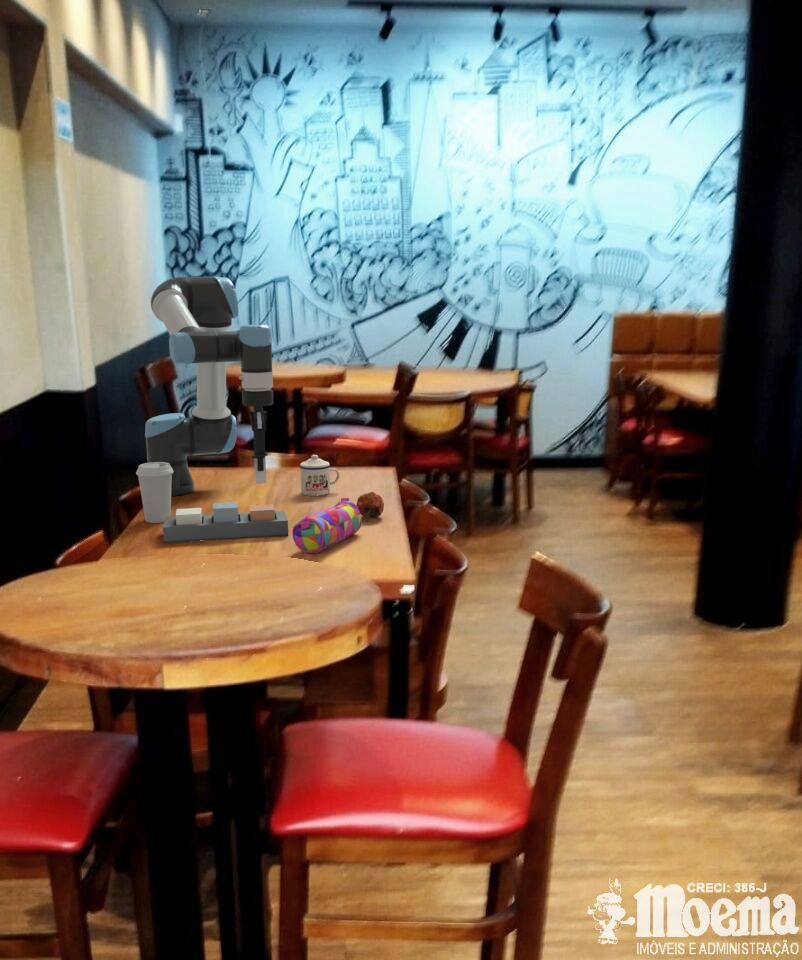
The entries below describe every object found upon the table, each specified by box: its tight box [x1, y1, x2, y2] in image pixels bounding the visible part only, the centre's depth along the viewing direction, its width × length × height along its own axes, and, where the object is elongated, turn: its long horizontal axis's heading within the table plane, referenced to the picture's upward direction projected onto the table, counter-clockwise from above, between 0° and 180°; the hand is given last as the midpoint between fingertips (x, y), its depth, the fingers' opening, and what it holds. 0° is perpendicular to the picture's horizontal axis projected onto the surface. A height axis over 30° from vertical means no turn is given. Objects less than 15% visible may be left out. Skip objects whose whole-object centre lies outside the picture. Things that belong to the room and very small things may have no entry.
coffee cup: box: [135, 462, 173, 524], centre depth 228 cm, size 10×10×15 cm
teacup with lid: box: [299, 454, 341, 497], centre depth 258 cm, size 12×9×12 cm
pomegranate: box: [356, 491, 385, 522], centre depth 230 cm, size 7×7×10 cm
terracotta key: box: [249, 503, 276, 521], centre depth 217 cm, size 6×6×4 cm
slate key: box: [212, 501, 239, 523], centre depth 215 cm, size 6×6×4 cm
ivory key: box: [175, 507, 203, 525], centre depth 213 cm, size 6×6×4 cm
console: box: [162, 510, 289, 544], centre depth 216 cm, size 10×30×4 cm, turn 101°
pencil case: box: [291, 497, 363, 554], centre depth 208 cm, size 22×9×9 cm, turn 159°
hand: (260, 482), depth 215 cm, fingers closed
